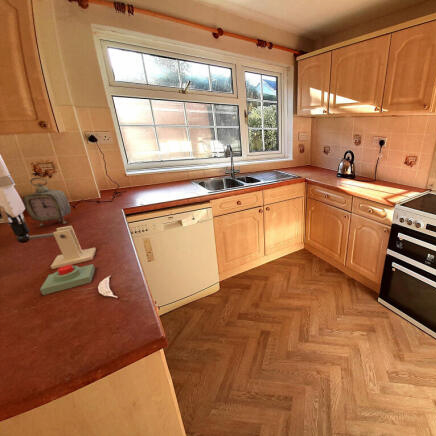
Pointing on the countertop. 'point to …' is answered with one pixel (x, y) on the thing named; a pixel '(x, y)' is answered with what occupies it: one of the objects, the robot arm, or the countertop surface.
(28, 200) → the tabletop clock
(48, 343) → the countertop surface
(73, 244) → the bracket
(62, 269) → the button
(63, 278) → the button box
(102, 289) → the pea pod
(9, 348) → the countertop surface
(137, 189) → the countertop surface
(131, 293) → the countertop surface
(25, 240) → the lever
